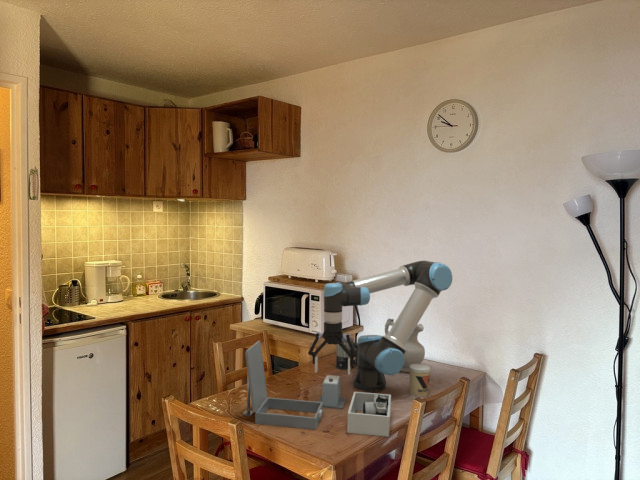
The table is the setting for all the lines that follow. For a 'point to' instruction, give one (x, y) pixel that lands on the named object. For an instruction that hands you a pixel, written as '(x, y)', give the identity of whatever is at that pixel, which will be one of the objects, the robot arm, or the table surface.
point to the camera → (376, 405)
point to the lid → (256, 375)
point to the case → (289, 419)
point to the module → (331, 390)
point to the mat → (339, 406)
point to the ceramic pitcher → (410, 347)
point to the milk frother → (344, 355)
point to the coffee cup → (419, 379)
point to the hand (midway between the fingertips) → (332, 372)
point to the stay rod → (248, 401)
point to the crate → (367, 416)
